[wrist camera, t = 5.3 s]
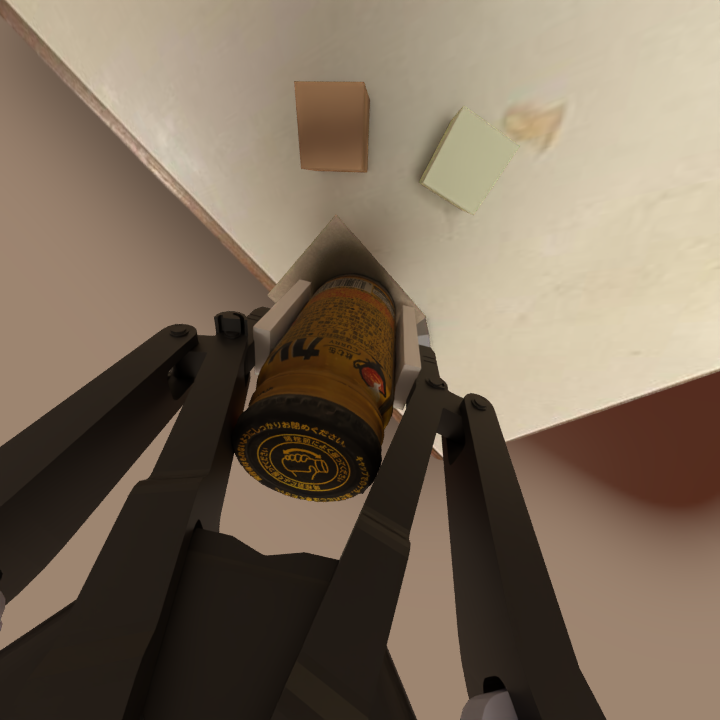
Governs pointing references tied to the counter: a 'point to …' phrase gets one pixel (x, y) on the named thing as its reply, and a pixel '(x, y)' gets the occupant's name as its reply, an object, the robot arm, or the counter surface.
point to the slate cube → (423, 333)
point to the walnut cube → (333, 125)
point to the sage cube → (468, 161)
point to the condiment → (327, 376)
